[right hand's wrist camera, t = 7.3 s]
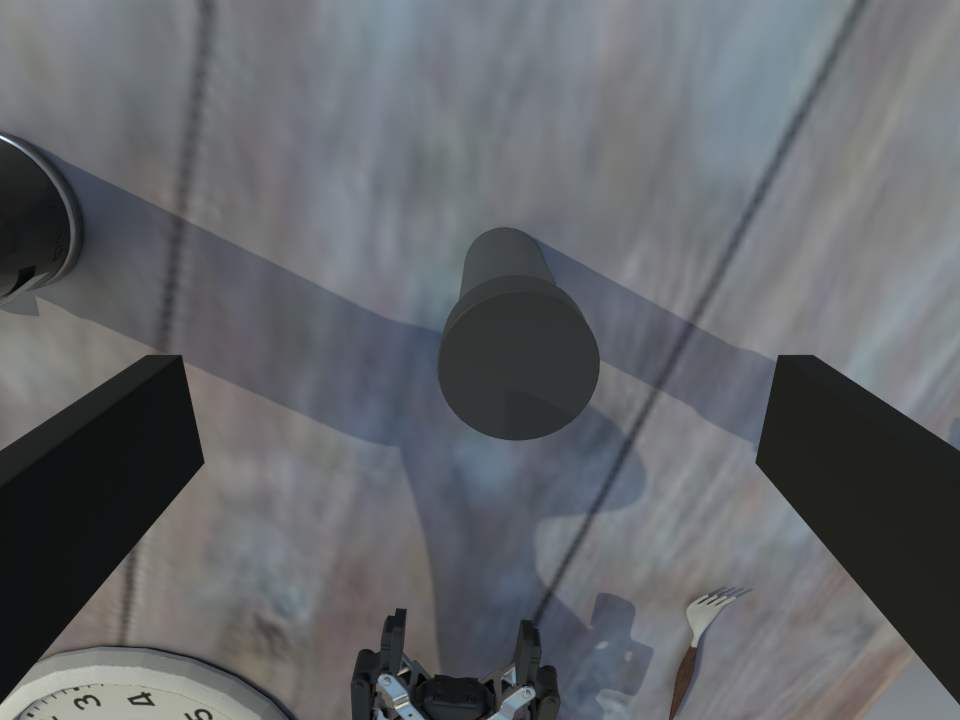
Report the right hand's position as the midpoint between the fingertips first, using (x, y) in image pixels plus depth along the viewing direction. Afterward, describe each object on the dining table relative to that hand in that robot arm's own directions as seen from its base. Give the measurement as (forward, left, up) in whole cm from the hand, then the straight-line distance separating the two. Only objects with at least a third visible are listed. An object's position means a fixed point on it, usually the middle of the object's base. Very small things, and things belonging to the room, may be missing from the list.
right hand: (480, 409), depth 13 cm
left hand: (+5, +24, -16) cm, 29 cm away
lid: (-1, +2, -7) cm, 8 cm away
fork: (-12, +37, -23) cm, 45 cm away
